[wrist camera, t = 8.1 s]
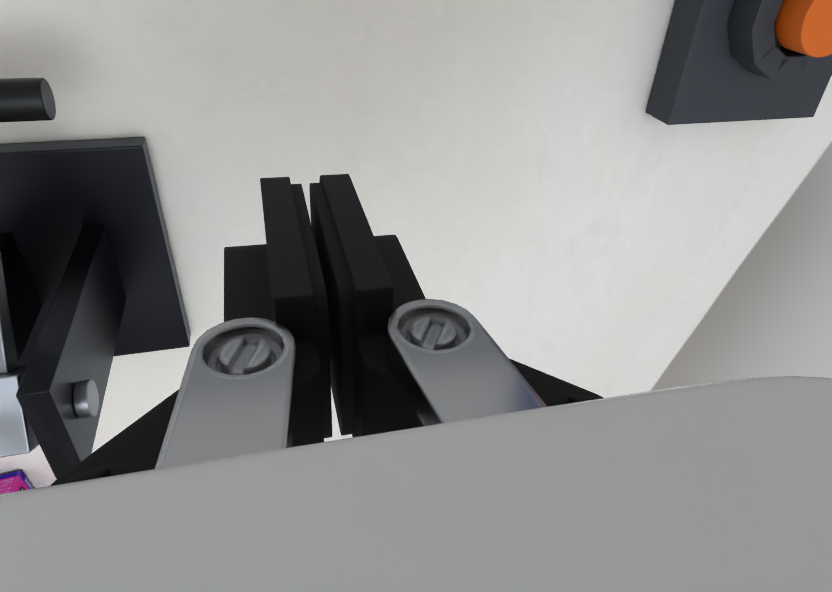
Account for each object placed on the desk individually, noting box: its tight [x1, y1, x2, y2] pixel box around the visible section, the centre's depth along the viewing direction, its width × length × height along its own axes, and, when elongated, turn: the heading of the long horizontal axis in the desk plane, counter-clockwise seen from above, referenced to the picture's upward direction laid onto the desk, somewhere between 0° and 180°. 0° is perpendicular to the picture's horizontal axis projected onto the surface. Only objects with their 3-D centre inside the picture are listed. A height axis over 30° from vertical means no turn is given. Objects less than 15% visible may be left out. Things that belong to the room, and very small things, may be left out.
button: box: [775, 0, 832, 57], centre depth 28 cm, size 4×4×2 cm
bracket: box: [0, 137, 190, 479], centre depth 25 cm, size 12×10×13 cm
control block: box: [646, 0, 832, 125], centre depth 30 cm, size 12×10×4 cm
